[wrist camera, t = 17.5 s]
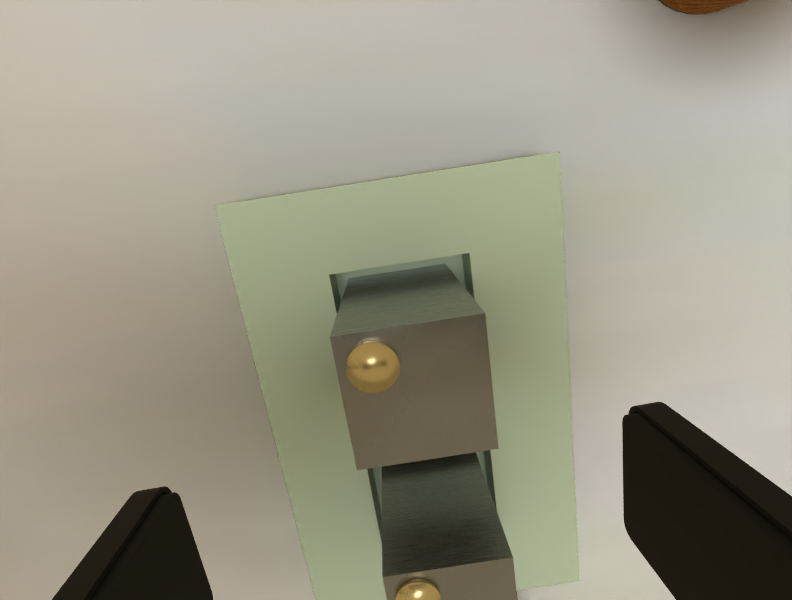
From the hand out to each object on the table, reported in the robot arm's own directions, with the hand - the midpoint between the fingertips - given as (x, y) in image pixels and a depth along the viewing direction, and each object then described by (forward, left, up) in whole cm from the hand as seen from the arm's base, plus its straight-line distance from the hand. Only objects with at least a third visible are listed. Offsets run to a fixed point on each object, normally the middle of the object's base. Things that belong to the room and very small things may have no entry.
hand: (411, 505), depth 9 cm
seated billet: (-4, -8, -12) cm, 15 cm away
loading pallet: (-3, -7, -13) cm, 15 cm away
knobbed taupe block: (+1, 0, -12) cm, 12 cm away
